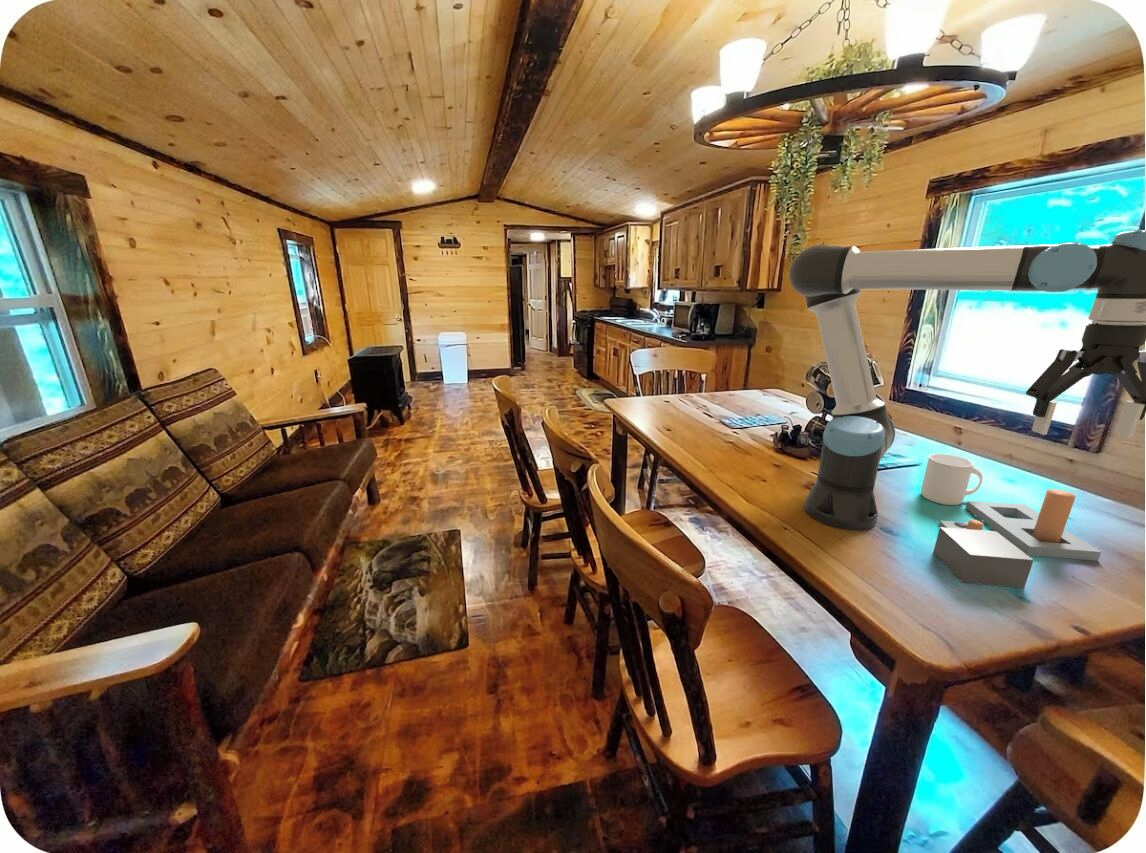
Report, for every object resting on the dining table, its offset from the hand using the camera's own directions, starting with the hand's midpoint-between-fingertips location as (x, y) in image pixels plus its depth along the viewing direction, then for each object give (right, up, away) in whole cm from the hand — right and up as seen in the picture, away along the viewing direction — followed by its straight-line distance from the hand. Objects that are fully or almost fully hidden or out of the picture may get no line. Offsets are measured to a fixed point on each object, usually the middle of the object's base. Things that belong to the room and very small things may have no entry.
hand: (1080, 434), depth 86 cm
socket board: (+2, -22, +12) cm, 25 cm away
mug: (-2, -17, +28) cm, 33 cm away
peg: (+1, -24, +7) cm, 25 cm away
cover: (-20, -26, 0) cm, 33 cm away
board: (-12, -22, +12) cm, 28 cm away
